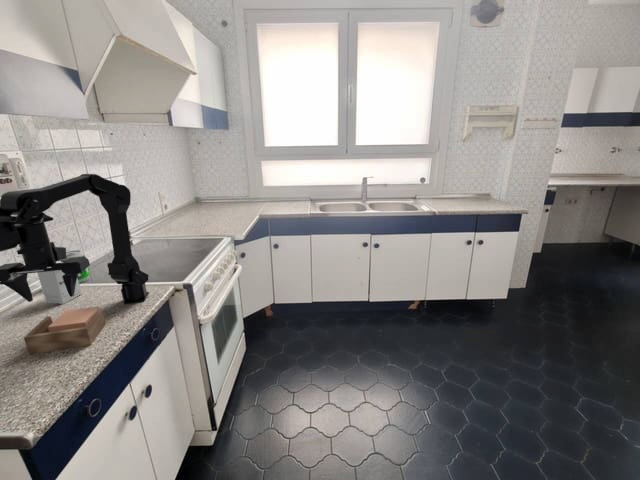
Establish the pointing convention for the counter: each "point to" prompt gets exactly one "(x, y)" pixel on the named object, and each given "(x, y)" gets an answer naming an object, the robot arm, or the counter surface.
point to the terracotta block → (73, 319)
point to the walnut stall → (63, 335)
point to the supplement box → (56, 287)
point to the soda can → (84, 274)
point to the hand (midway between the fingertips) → (51, 298)
